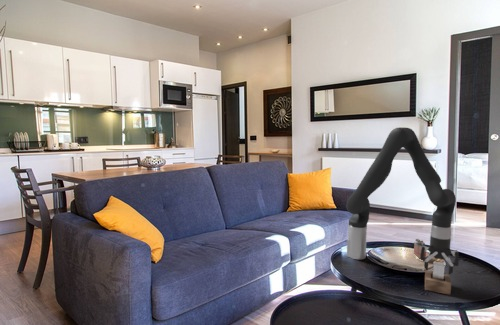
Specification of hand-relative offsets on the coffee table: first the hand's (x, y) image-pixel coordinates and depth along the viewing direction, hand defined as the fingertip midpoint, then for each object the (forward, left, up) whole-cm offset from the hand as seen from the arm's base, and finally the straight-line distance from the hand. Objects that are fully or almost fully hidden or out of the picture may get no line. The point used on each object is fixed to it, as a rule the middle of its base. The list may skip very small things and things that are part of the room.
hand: (438, 271), depth 141 cm
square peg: (0, 0, -6) cm, 7 cm away
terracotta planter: (-7, +30, -7) cm, 32 cm away
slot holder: (0, 0, -8) cm, 8 cm away
